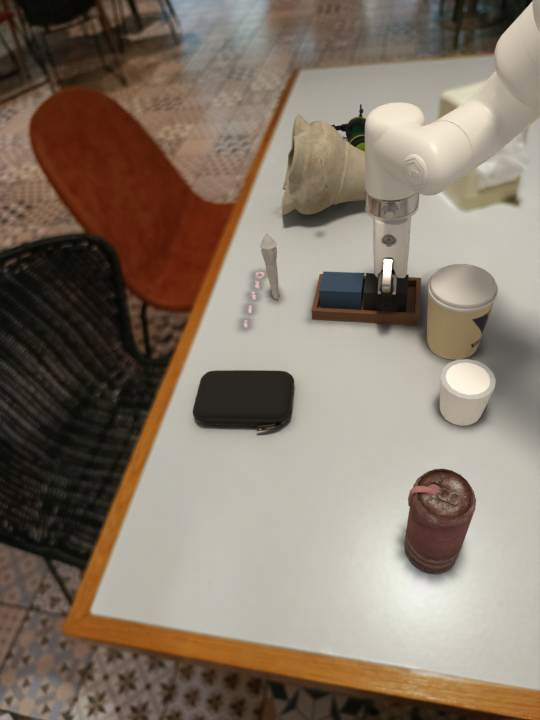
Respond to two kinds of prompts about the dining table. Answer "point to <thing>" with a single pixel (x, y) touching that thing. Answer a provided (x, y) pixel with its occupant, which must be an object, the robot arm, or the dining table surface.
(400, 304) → the pad
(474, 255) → the dining table surface
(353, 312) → the tray
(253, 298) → the flower petals
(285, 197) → the vase
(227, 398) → the carrying case
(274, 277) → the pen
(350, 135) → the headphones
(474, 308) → the coffee cup
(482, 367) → the white short cylinder
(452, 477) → the can
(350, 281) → the blue block
